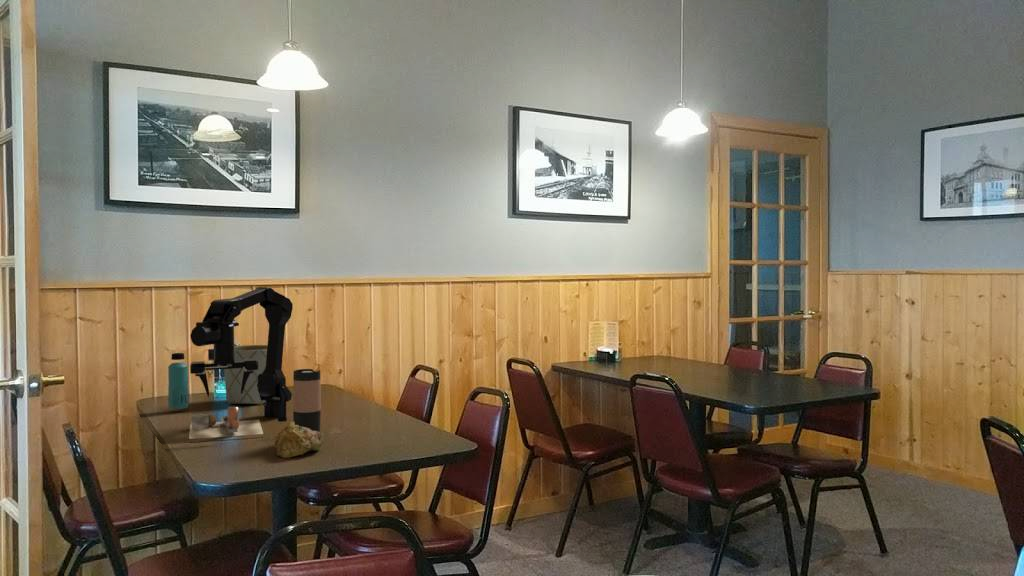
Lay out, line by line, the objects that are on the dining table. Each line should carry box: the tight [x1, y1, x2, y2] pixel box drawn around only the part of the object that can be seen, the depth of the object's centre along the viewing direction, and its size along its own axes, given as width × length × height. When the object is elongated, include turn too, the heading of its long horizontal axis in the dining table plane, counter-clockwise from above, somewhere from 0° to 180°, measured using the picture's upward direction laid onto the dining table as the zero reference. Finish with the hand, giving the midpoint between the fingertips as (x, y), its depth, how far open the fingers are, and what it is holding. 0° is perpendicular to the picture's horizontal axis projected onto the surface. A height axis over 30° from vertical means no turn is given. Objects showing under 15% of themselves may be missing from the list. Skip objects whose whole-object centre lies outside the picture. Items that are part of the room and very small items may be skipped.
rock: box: [273, 421, 325, 459], centre depth 207 cm, size 12×9×10 cm
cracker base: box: [188, 413, 264, 444], centre depth 233 cm, size 20×22×5 cm
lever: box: [220, 406, 240, 433], centre depth 232 cm, size 21×3×7 cm, turn 26°
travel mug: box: [292, 368, 322, 432], centre depth 224 cm, size 8×8×20 cm
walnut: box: [208, 414, 217, 427], centre depth 236 cm, size 4×4×4 cm
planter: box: [223, 344, 268, 406], centre depth 285 cm, size 19×19×20 cm
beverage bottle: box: [167, 352, 190, 410], centre depth 266 cm, size 6×7×20 cm
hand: (225, 394), depth 231 cm, fingers open, 9 cm apart
